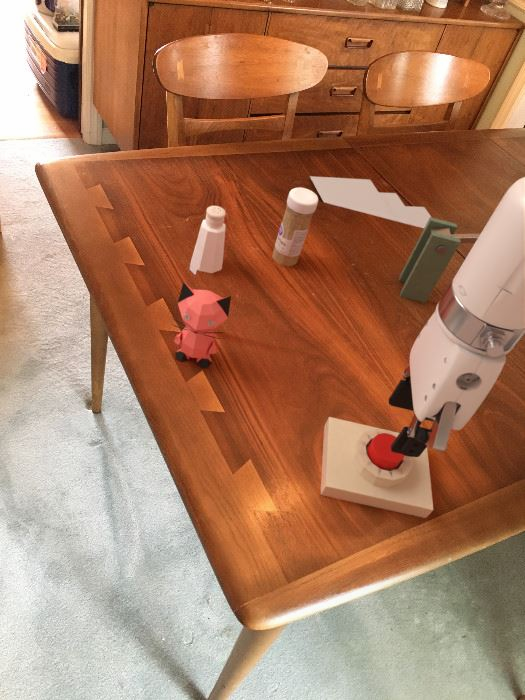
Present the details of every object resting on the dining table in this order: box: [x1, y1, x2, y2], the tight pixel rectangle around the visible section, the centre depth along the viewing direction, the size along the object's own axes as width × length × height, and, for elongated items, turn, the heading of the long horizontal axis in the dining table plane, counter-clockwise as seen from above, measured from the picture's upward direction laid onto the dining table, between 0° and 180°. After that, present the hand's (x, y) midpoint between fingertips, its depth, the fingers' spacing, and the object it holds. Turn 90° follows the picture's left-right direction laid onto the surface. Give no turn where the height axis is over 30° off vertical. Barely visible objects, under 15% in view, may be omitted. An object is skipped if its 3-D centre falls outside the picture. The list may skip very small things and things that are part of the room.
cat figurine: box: [170, 281, 232, 369], centre depth 71 cm, size 7×7×12 cm
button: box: [368, 433, 405, 470], centre depth 66 cm, size 4×4×2 cm
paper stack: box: [309, 175, 432, 229], centre depth 109 cm, size 23×25×1 cm
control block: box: [320, 416, 434, 519], centre depth 67 cm, size 13×10×4 cm
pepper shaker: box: [189, 205, 227, 276], centre depth 84 cm, size 5×5×11 cm
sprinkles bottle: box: [271, 187, 319, 267], centre depth 88 cm, size 5×5×13 cm
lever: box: [430, 228, 481, 244], centre depth 85 cm, size 13×6×2 cm, turn 83°
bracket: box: [398, 216, 462, 303], centre depth 89 cm, size 12×9×14 cm
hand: (402, 427), depth 62 cm, fingers open, 5 cm apart
